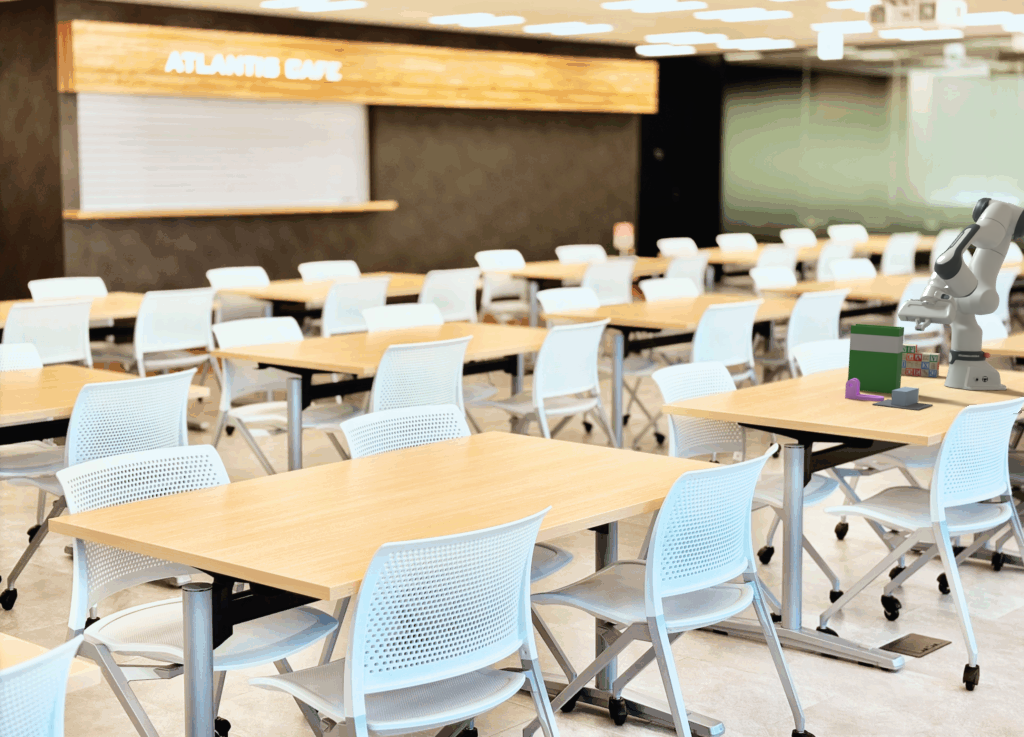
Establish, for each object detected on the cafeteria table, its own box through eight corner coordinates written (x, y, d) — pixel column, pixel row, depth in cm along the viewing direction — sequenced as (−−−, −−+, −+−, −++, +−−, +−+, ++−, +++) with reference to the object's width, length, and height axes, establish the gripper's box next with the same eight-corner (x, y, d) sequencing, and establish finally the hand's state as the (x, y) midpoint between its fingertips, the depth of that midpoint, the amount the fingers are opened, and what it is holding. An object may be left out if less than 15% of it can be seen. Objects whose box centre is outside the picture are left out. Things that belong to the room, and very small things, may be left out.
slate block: (905, 386, 465) (892, 390, 455) (919, 388, 462) (906, 391, 452) (904, 400, 465) (891, 404, 456) (918, 402, 462) (905, 406, 453)
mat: (888, 400, 468) (888, 399, 468) (932, 405, 458) (932, 404, 458) (872, 404, 457) (872, 403, 457) (917, 410, 447) (917, 409, 447)
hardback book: (847, 389, 492) (851, 325, 489) (852, 387, 498) (856, 323, 495) (895, 394, 483) (899, 328, 480) (900, 391, 490) (904, 327, 486)
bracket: (844, 398, 471) (846, 379, 470) (848, 396, 476) (849, 377, 475) (881, 402, 465) (883, 382, 464) (885, 400, 470) (886, 380, 469)
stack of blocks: (938, 376, 535) (940, 345, 534) (936, 377, 530) (938, 347, 528) (885, 371, 545) (886, 342, 543) (882, 373, 539) (883, 343, 538)
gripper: (903, 293, 484) (889, 321, 478) (956, 296, 470) (943, 326, 464) (908, 304, 488) (894, 333, 482) (961, 308, 474) (948, 337, 468)
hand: (919, 329), depth 473 cm, fingers closed
